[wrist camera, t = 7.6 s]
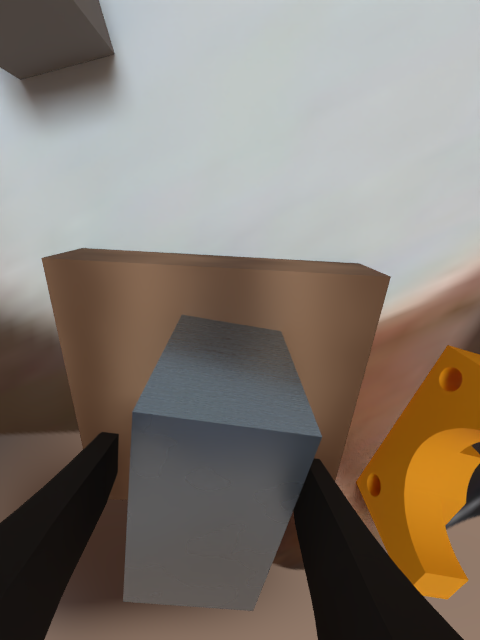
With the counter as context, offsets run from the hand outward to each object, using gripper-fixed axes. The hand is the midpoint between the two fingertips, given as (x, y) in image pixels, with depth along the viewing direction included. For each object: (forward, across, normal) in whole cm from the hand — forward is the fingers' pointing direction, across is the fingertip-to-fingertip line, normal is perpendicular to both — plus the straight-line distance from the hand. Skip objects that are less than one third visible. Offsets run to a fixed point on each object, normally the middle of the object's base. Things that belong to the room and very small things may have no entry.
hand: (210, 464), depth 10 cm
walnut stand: (+6, 0, 0) cm, 6 cm away
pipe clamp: (+7, -14, +2) cm, 16 cm away
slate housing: (+3, 0, -1) cm, 3 cm away
